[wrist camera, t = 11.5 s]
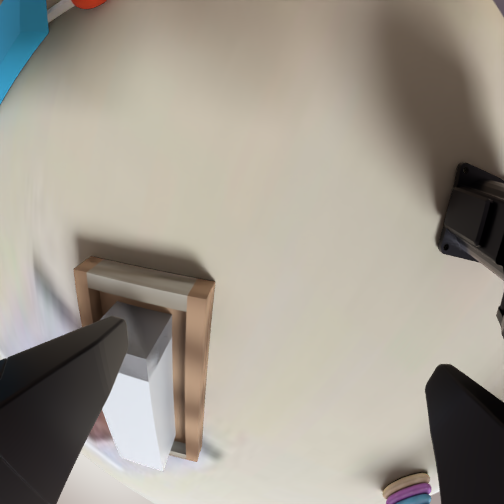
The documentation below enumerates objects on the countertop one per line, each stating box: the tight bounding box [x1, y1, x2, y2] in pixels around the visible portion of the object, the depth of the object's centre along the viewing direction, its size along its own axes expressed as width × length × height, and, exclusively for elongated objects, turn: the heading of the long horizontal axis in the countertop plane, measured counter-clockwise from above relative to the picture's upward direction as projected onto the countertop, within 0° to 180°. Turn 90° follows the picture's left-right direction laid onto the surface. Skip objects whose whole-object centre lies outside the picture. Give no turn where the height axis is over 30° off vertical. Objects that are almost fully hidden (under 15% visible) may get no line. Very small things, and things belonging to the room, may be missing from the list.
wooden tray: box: [74, 256, 215, 462], centre depth 23 cm, size 21×10×2 cm, turn 171°
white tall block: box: [100, 301, 176, 471], centre depth 21 cm, size 16×4×5 cm, turn 171°
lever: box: [0, 0, 106, 104], centre depth 13 cm, size 7×7×18 cm
